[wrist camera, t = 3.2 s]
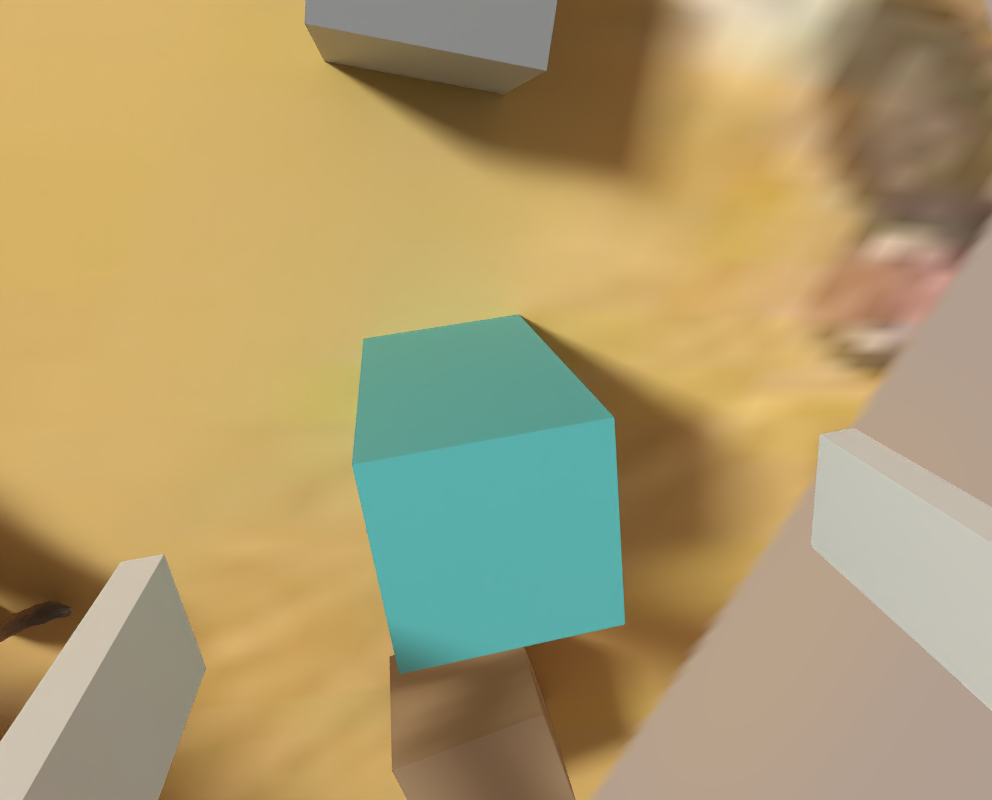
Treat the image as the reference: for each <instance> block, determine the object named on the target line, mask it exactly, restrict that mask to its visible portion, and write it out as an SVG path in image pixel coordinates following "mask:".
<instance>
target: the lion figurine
mask: <svg viewBox="0 0 992 800" xmlns="http://www.w3.org/2000/svg"><path fill="white" fill-rule="evenodd" d="M72 611H73V610H72V608H70V607H68V606H65V605H63V604H61V603H59V602H55V601H48V602H45V603H42V604H38V605H34V606H33V607H31V608H28V609H25V610H23V611H21V612H19V613H16V614H14V615H12V616H11V617H9V618H8V619H6V620H5V621H3V622H2V623H0V642H2V641H3V640H5V639H7V638H8V637H10V636H12V635H14V634H16V633H18V632H20V631H21V630H23V629H25V628H28V627H31V626H35V625H40V624H44V623H46V622H48V621H50V620H53V619H56V618H61V617H66V616H69V615H71V613H72Z"/></svg>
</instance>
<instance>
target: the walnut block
mask: <svg viewBox="0 0 992 800" xmlns="http://www.w3.org/2000/svg"><path fill="white" fill-rule="evenodd" d="M390 694H391V742H392V771H393V773H394V775H395V777H396V779H397V781H398V783H399V785H400V787H401V788H402V790H403V792H404V794H405V796H406V798H407V800H575V797H574V794H573V790H572V787H571V784H570V781H569V777H568V774H567V771H566V768H565V764H564V761H563V758H562V755H561V751H560V748H559V745H558V742H557V738H556V735H555V732H554V729H553V725H552V722H551V719H550V716H549V712H548V709H547V706H546V703H545V700H544V697H543V694H542V692H541V689H540V686H539V683H538V680H537V678H536V675H535V672H534V669H533V667H532V664H531V661H530V658H529V656H528V653H527V650H526V647H521V648H516V649H512V650H507V651H503V652H498V653H494V654H489V655H484V656H480V657H475V658H471V659H466V660H462V661H457V662H453V663H448V664H444V665H439V666H435V667H430V668H426V669H421V670H416V671H412V672H407V673H403V674H399V671H398V667H397V662H396V658H395V655H393V656H390Z"/></svg>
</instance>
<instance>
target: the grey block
mask: <svg viewBox="0 0 992 800" xmlns="http://www.w3.org/2000/svg"><path fill="white" fill-rule="evenodd" d="M556 7H557V0H306V5H305V25H306V27H307V29H308V31H309V33H310V35H311V36H312V38H313V40H314V42H315V44H316V46H317V48H318V50H319V52H320V54H321V55H322V57H323V59H324V61H325V62H331V63H336V64H342V65H347V66H353V67H358V68H364V69H369V70H374V71H380V72H385V73H391V74H396V75H402V76H407V77H412V78H418V79H423V80H429V81H434V82H440V83H445V84H450V85H456V86H461V87H467V88H472V89H478V90H483V91H489V92H494V93H499V94H506V93H508V92H510V91H512V90H513V89H515V88H517V87H519V86H520V85H522V84H524V83H526V82H528V81H529V80H531V79H533V78H535V77H536V76H538V75H540V74H542V73H544V72H545V71H547V65H548V59H549V52H550V46H551V39H552V33H553V26H554V20H555V13H556Z"/></svg>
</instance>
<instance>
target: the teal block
mask: <svg viewBox="0 0 992 800" xmlns="http://www.w3.org/2000/svg"><path fill="white" fill-rule="evenodd" d="M352 466H353V471H354V475H355V480H356V484H357V489H358V493H359V497H360V502H361V506H362V511H363V515H364V520H365V524H366V529H367V533H368V538H369V542H370V546H371V551H372V555H373V560H374V564H375V569H376V573H377V578H378V582H379V587H380V591H381V596H382V600H383V604H384V609H385V613H386V618H387V622H388V627H389V631H390V636H391V640H392V645H393V649H394V653H395V658H396V662H397V667H398V671H399V674H403V673H407V672H412V671H416V670H421V669H426V668H430V667H435V666H439V665H444V664H448V663H453V662H457V661H462V660H466V659H471V658H475V657H480V656H484V655H489V654H494V653H498V652H503V651H507V650H512V649H516V648H521V647H525V646H530V645H534V644H539V643H543V642H548V641H552V640H557V639H562V638H566V637H571V636H575V635H580V634H584V633H589V632H593V631H598V630H602V629H607V628H611V627H616V626H620V625H625V613H624V594H623V574H622V555H621V536H620V517H619V497H618V478H617V459H616V440H615V420H614V416H613V415H612V414H611V413H610V412H609V411H608V410H607V409H606V408H605V407H604V406H603V405H602V404H601V402H600V401H599V400H598V399H597V398H596V397H595V396H594V395H593V394H592V393H591V392H590V391H589V390H588V388H587V387H586V386H585V385H584V384H583V383H582V382H581V381H580V380H579V379H578V378H577V377H576V376H575V374H574V373H573V372H572V371H571V370H570V369H569V368H568V367H567V366H566V365H565V364H564V363H563V361H562V360H561V359H560V358H559V357H558V356H557V355H556V354H555V353H554V352H553V351H552V350H551V349H550V347H549V346H548V345H547V344H546V343H545V342H544V341H543V340H542V339H541V338H540V337H539V336H538V335H537V333H536V332H535V331H534V330H533V329H532V328H531V327H530V326H529V325H528V324H527V323H526V322H525V321H524V319H523V318H522V317H521V316H520V315H512V316H506V317H500V318H493V319H487V320H480V321H474V322H468V323H461V324H455V325H449V326H442V327H436V328H430V329H423V330H417V331H410V332H404V333H398V334H391V335H385V336H379V337H372V338H366V339H364V340H363V351H362V362H361V373H360V384H359V395H358V406H357V417H356V428H355V439H354V449H353V460H352Z"/></svg>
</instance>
